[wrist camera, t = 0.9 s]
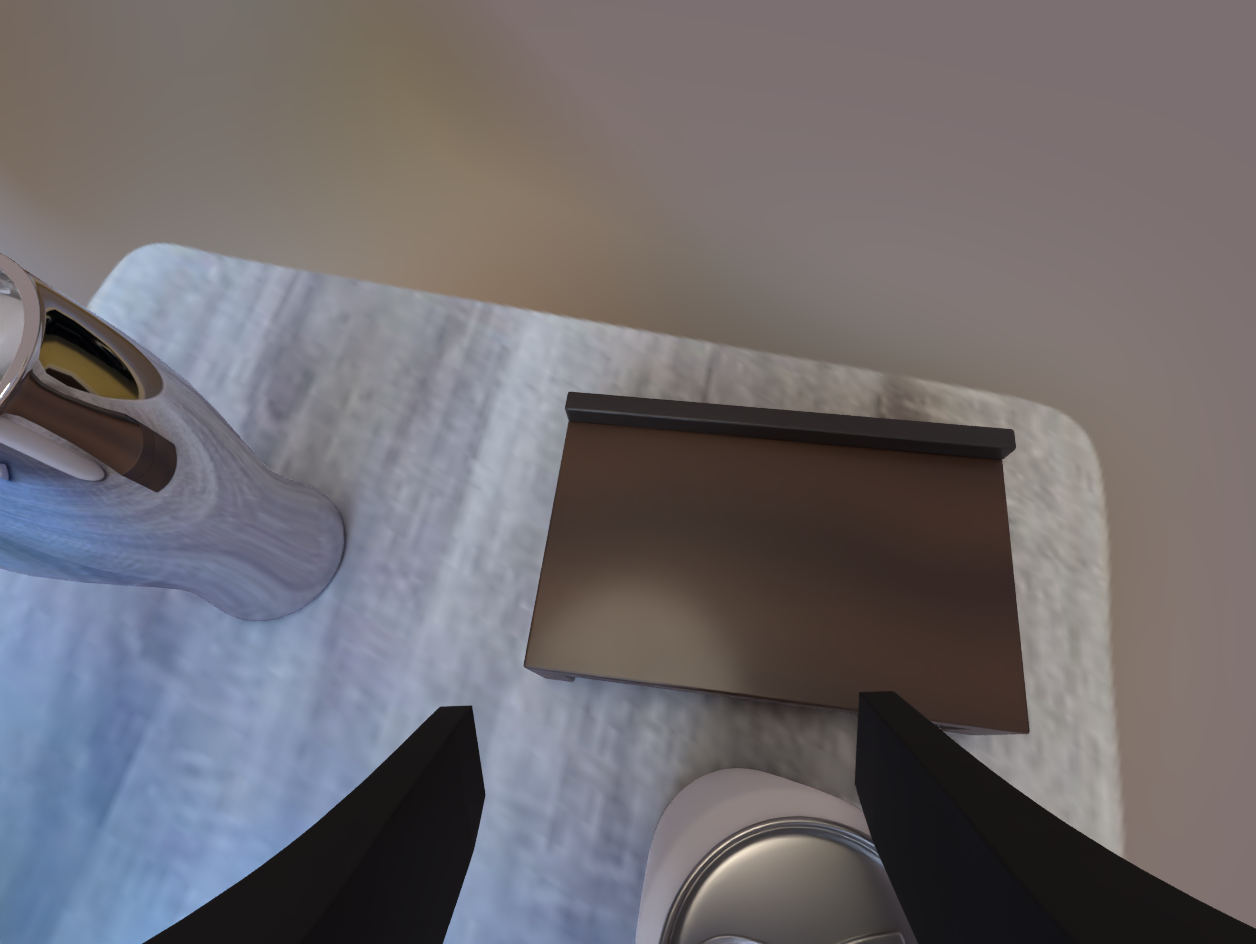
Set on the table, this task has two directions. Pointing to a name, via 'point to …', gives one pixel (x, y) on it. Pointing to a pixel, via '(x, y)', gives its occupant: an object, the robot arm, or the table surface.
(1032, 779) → the table surface
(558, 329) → the table surface
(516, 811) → the table surface
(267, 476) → the beer glass
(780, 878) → the can
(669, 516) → the desk shelf
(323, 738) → the table surface
